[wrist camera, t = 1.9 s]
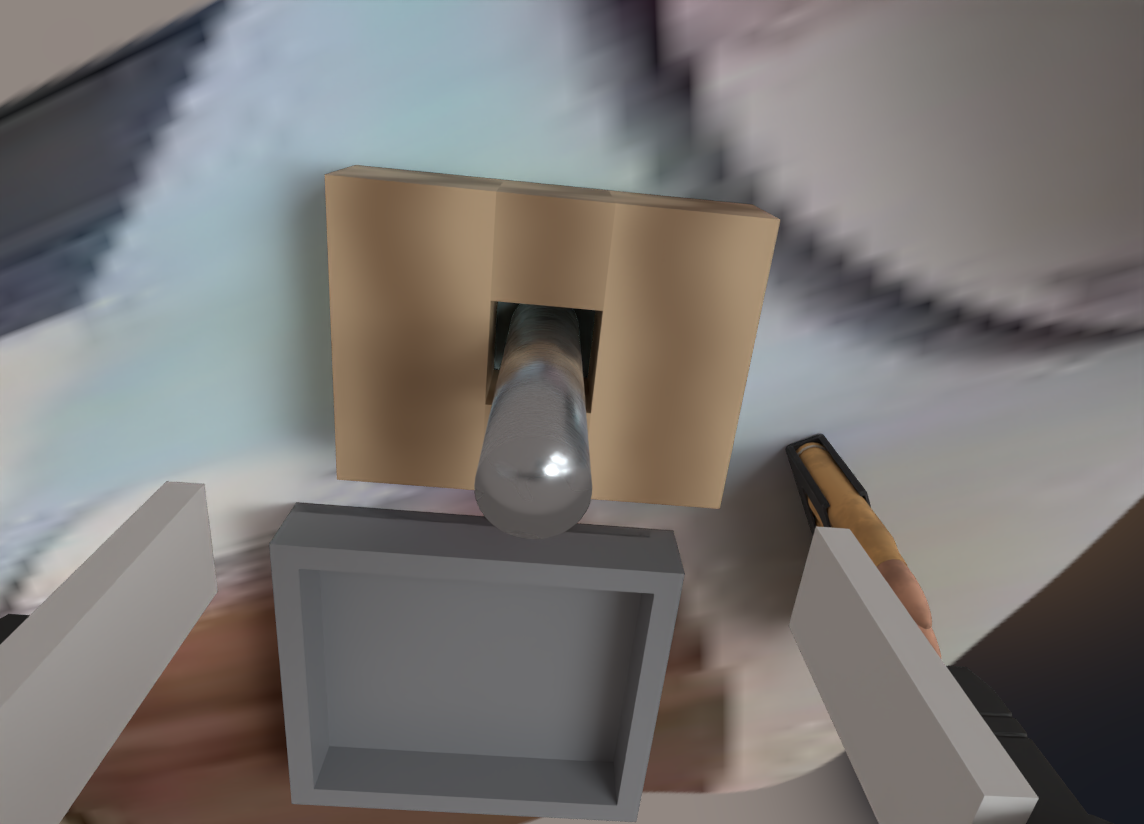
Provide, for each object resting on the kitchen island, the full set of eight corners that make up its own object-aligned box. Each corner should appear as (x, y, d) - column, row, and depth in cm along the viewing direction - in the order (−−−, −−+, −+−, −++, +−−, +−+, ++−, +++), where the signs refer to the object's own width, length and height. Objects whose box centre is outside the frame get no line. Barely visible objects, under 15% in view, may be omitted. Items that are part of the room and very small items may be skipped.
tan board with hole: (752, 204, 29) (780, 219, 25) (702, 464, 34) (719, 508, 30) (355, 165, 28) (324, 174, 24) (361, 437, 33) (337, 479, 29)
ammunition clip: (784, 445, 33) (894, 614, 22) (822, 431, 33) (952, 596, 22) (837, 613, 37) (952, 826, 26) (871, 602, 37) (1002, 813, 26)
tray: (673, 531, 35) (684, 574, 32) (630, 766, 42) (636, 822, 38) (296, 502, 34) (269, 544, 31) (313, 748, 41) (291, 803, 38)
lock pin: (582, 297, 30) (598, 441, 18) (575, 363, 32) (586, 543, 19) (512, 291, 30) (476, 431, 17) (508, 357, 31) (471, 535, 19)
